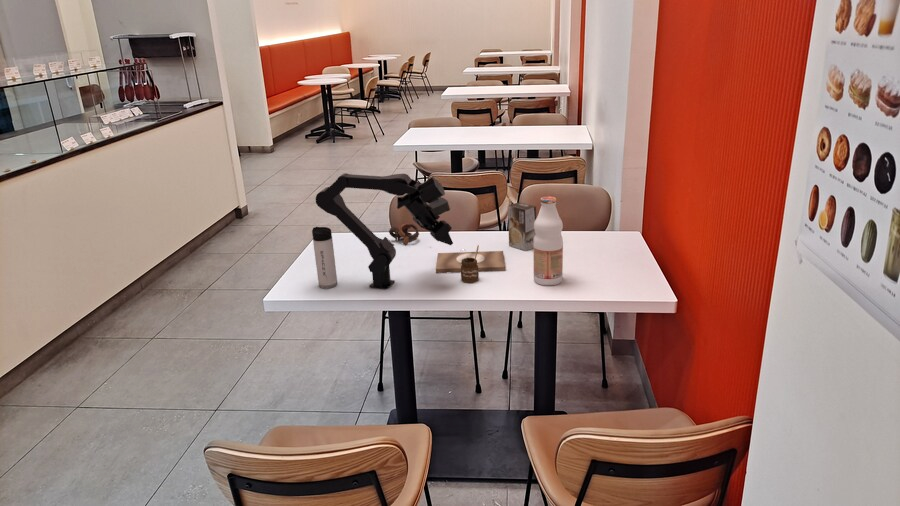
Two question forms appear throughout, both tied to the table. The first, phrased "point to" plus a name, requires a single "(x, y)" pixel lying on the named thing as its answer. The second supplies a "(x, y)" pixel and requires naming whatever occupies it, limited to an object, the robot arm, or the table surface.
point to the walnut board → (484, 259)
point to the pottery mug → (404, 233)
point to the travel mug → (324, 257)
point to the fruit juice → (548, 244)
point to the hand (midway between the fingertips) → (445, 239)
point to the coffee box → (521, 225)
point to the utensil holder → (469, 269)
